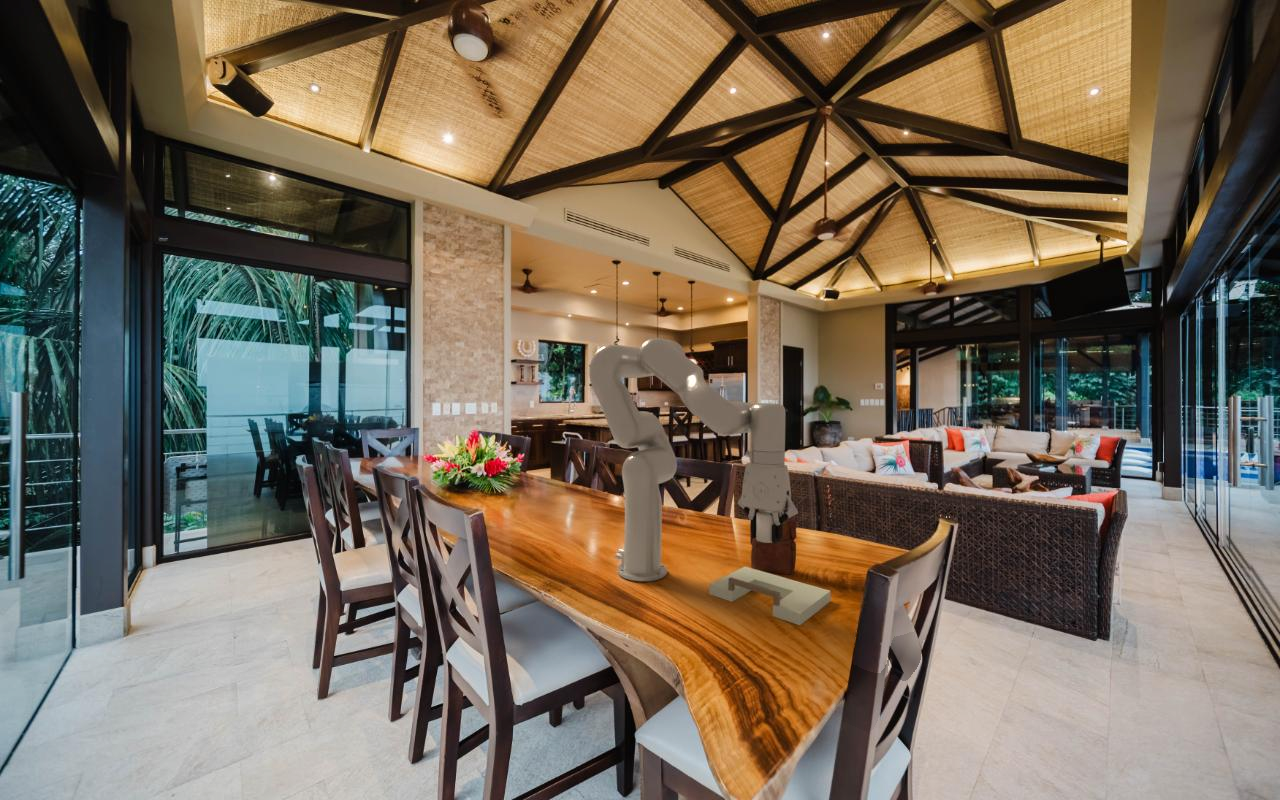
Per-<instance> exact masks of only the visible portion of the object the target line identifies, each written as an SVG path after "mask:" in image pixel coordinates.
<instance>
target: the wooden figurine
mask: <svg viewBox="0 0 1280 800" xmlns="http://www.w3.org/2000/svg"><path fill="white" fill-rule="evenodd" d="M760 511H765V510H760ZM783 512H784V513H786V512H788V509H784V510H783ZM749 525H750V526H749V528H750V527H751V522H750V524H749ZM749 536H750V537H749V538H750V545H751V552H750V566H751V567H750V568H752V569H756V570H759V571H763V572H766V573H772V574H773V573H774V574H784V575H794V574H795V569H796V561H797V543H796V541H795V540H796V539H797V521H796V519H795V518H794V517H793V516H792V517H790V518H789V519H787V520H786V521H785V522H784V523H783V534H782V539H781V541H779V542H777V543H764V542H760V541H757V540H756V538H752V537H751V532H750V535H749Z"/></svg>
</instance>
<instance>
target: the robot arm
mask: <svg viewBox="0 0 1280 800" xmlns="http://www.w3.org/2000/svg"><path fill="white" fill-rule="evenodd" d="M588 373H589V374H588V375H589V381H590V384H591V387H592V389H593V392H594V394H595V396H596V397H597V398H596V399H597V401H598V402H599V404H600V407H601V409H602V412H603V415H604V417H605V420H606V423H607V425H608V428H609V430H610V433H611V435H612V437H613V440H614V442H615V443H616V445H617V446H618V447H621V448H622V449H634V448H637V449H638V450H637V451H635V452H632V453H631V454H630V455H628V456H627V458H625V460H624V462H623V463H622V468H621V477H622V483H623V490H624V547H623V548H624V549H623V548H619V549H618V550H617V551H618V552H616V553H615V556H614V557H615V559H618V560H620V563H621V564H619V566H618V568H617V572H618V575H619V576H620V577H621V578H623V579H626V580H629V581H634V582H654V581H659V580H661V579H663V578H665V577H666V576H667V573H668V569H667V566H666V565H665V564H663V563H662V526H663V525H662V522H663V512H662V511H663V505H662V503H663V501H662V496H661V492H660V487H659V486H660V485H659V484H663V483H666V482H668V481H670V480H671V479H672V478H673V477H674V476H675V474H676V472H677V470H678V469H677V467H678V462H677V458H676V455H675V452H674V450H673V447H672V445H671V442H670V441H669V439H668V436H667V433H666V432H665V428H664V427H663V425H662V422H661V420H659V418H658V417H657V416H656V415H655V414H653V413H651V412H650V411H643V410H641V411H639V409H638V408H637V406H636V404H635V402H634V399H633V396H632V395H631V392H630V391H629V389H628V388H627V387H626V385H625V384H624V383H623V381H622V379H621V378H624V379H636V378H637V379H638V378H647V377H653V376H655V377H657V379H659V380H660V381H661V382H662V383H664V384H665V385H666V386H667V387H668V388H669V389H671V390H672V391H673V392H674V393H675V394H677V395H678V396H679V398H680V400H681V401H682V404H684V405H685V407H686V408H687V410H689V412H690V413H691V415H693V416H694V417H695V418H697V420H699V421H700V422H701V423H702V424H704V425H705V426H706V427H708V428H709V429H710V430H711V431H713V432H714V433H716V434H718V435H720V436H726V437H728V436H735V435H739V434H745V433H747V434H748V433H750V444H749V445H750V447H749V450H746V451H745V457H747V458H749V462H746V465H745V467H744V468H745V469H744V474H743V481H742V488H741V489H742V491H741V497H740V498H739V499H738V501H737V504H738V505H739V507H741V508H742V509H743V511H744V512H745V513H746V515H747V516H748V517H747V518H748V520H749V521H750V523H751V527H750V526H749V528H750V529H749V531H750V532H751V537H752V538H756V512H758V511H760V510H765V511H770V512H772V513H773V518H774V525H772V542H773V543H777V542H779V541H781V539H782V534H783V523H784V522H785V521H786V520H787V519H789V518H790V517H793V516H795V515H797V514H798V513H799V512H798V508H797V507H796V506H795V504H794V502H793V500H792V494H791V493H792V491H791V478H790V473H789V468H788V465H786V463H785V461H786V459H785V458H786V453H785V452H786V450H785V449H786V408H785V407H784V405H783V404H780V403H773V402H772V403H770V402H769V403H767V402H766V403H765V402H763V403H762V402H761V403H750V402H745V401H728V400H727V399H726V398H725V397H723V396H722V395H721V394H719V393H718V392H717V391H715V389H714V388H712V387H711V386H710V385H709V384H708V383H707V381H706V380H705V377H704V370H703V369H702V368H701V367H700V366H699V365H698V364H697V363H695V362H694V361H692V360H691V358H689V357H688V356H686V353H685V350H684V348H683V346H682V345H681V344H679V342H676V341H674V340H671V339H666V338H662V337H661V338H660V337H655V338H654V337H653V338H650V339H648V340H645V341H644V342H643V343H642V345H641V346H639V347H638V346H637V347H633V346H628V345H622V344H607V345H604V346H602V347H600V348H598V350H597V351H596V352H595V353H594V355H592V359H591V360H590V364H589V371H588ZM784 509H788V512H786V513H784V512H783V510H784Z"/></svg>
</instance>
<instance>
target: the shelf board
mask: <svg viewBox="0 0 1280 800" xmlns="http://www.w3.org/2000/svg"><path fill="white" fill-rule="evenodd" d="M752 591H753V592H755V593H759V594H763V595H765V596H769V597H772V600H773V601H772V603H773V604H772V617H775V618H777V619H780V620H783V621H786V622H788V623H792V624H794V625H797V626H801V625H803V624H804V623H805V622H806V621H808V620H809V619H810V618H811V617H813V615H815V614H817V612H819V611H820V610H822V609H823V608H824V607H825V606H826V605H828V604H829V603H830V602H831V593H832V592H831V590H829V589H825V588H821V587H819V586H815V585H811V584H809V583H804V582H800V581H797V580H793V579H790V578H787V577H783V576H780V575H777V574H776V575H775V574H773V573H771V572H764V571H759V570H756V569H753V568H751V567H748V566H742V567H741V568H739V569H737V570H735V571H732V572H731V573H729V574H727V575H724V576H723V577H721V578H719V579H717V580H715V581H713V582H711V583H709V594H708V595H710V596H714V597H717V598H719V599H723V600H725V601H729V602H730V603H732V602H734V601H736V600H737V599H739V598H741V597H743V596H745V595H746V594H748V593H750V592H752Z"/></svg>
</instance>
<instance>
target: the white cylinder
mask: <svg viewBox="0 0 1280 800" xmlns="http://www.w3.org/2000/svg"><path fill="white" fill-rule="evenodd" d="M772 525H774V518H773V513H772V512H770V511H758V512H756V540H757V541H760V542H764V543H773V542H772Z"/></svg>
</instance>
